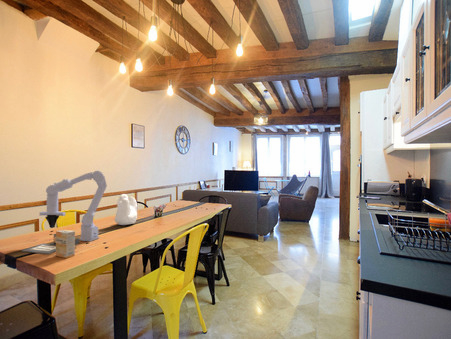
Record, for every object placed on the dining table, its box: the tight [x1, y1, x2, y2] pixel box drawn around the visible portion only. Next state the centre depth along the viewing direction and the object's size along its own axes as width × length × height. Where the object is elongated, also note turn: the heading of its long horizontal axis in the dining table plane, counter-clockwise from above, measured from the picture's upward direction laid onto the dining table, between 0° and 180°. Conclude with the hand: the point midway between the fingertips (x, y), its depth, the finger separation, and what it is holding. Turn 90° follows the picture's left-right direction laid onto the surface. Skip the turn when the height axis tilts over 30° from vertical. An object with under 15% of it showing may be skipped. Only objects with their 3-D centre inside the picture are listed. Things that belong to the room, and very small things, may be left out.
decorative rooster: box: [114, 193, 139, 226], centre depth 197 cm, size 25×16×25 cm, turn 159°
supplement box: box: [55, 228, 76, 259], centre depth 125 cm, size 8×5×13 cm, turn 69°
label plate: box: [21, 243, 56, 255], centre depth 134 cm, size 18×12×1 cm, turn 78°
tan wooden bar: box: [53, 233, 80, 246], centre depth 140 cm, size 18×4×5 cm, turn 68°
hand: (52, 227), depth 145 cm, fingers closed
